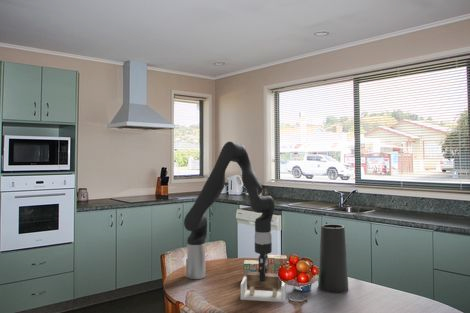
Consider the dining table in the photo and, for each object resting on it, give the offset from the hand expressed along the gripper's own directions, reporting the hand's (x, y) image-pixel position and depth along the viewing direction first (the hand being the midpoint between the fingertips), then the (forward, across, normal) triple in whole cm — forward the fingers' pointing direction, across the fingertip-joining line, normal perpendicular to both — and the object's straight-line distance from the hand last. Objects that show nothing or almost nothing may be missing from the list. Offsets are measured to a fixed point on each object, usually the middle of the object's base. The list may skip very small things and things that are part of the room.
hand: (263, 278), depth 166 cm
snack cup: (+8, -12, +17) cm, 22 cm away
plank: (+3, 0, 0) cm, 3 cm away
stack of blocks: (+8, -22, -1) cm, 23 cm away
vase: (+8, -16, +31) cm, 36 cm away
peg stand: (+8, 0, 0) cm, 8 cm away
